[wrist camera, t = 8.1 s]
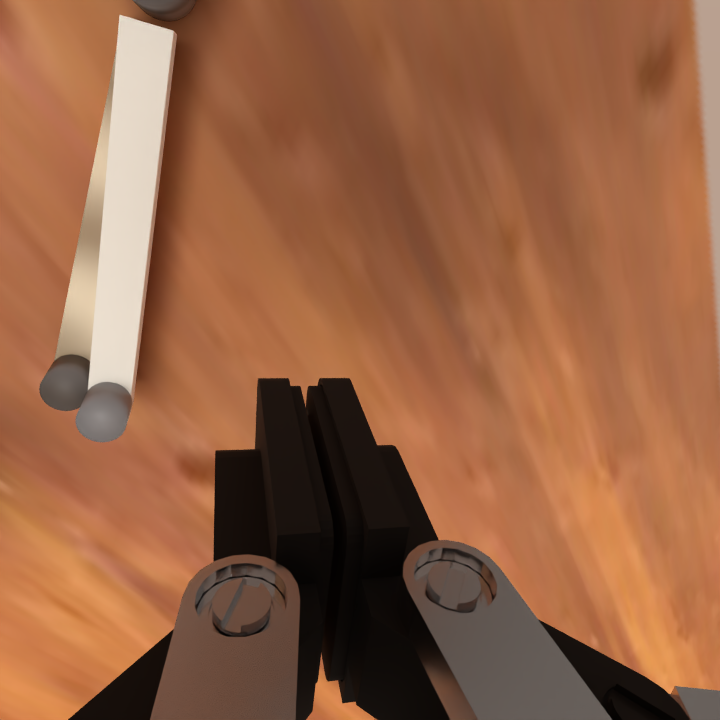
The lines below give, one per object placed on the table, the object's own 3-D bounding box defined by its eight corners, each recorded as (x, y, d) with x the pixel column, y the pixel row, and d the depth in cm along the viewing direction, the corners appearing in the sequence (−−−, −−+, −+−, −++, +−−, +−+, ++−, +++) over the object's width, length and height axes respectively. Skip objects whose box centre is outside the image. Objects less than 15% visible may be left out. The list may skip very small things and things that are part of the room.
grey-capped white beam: (135, -73, 25) (111, -116, 19) (205, -40, 26) (201, -72, 20) (48, 368, 32) (13, 425, 26) (106, 381, 33) (83, 437, 27)
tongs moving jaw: (124, 19, 24) (107, 7, 20) (179, 35, 25) (172, 26, 21) (91, 398, 31) (74, 439, 27) (135, 403, 31) (124, 444, 28)
